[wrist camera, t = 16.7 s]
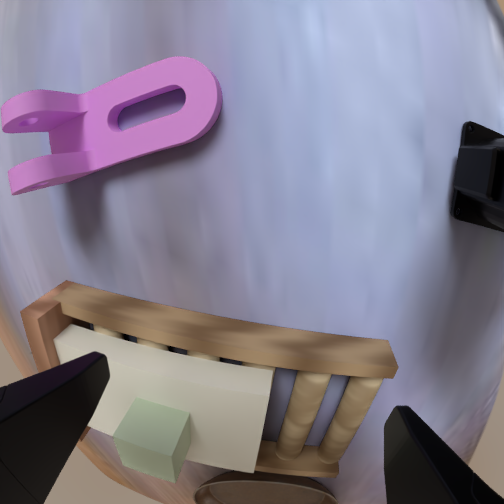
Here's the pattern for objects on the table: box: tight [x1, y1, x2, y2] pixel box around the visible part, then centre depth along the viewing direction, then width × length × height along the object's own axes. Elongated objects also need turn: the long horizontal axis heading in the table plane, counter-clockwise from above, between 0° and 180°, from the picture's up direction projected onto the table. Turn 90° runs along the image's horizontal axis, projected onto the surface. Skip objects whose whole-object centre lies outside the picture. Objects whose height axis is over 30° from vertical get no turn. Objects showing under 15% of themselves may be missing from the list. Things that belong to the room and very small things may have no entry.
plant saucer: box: [193, 470, 338, 504], centre depth 28 cm, size 18×18×3 cm
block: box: [113, 397, 191, 483], centre depth 17 cm, size 4×4×4 cm
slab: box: [53, 324, 273, 473], centre depth 20 cm, size 16×10×2 cm, turn 85°
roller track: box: [20, 280, 398, 478], centre depth 21 cm, size 26×14×6 cm, turn 83°
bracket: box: [1, 56, 222, 195], centre depth 15 cm, size 13×6×7 cm, turn 101°
